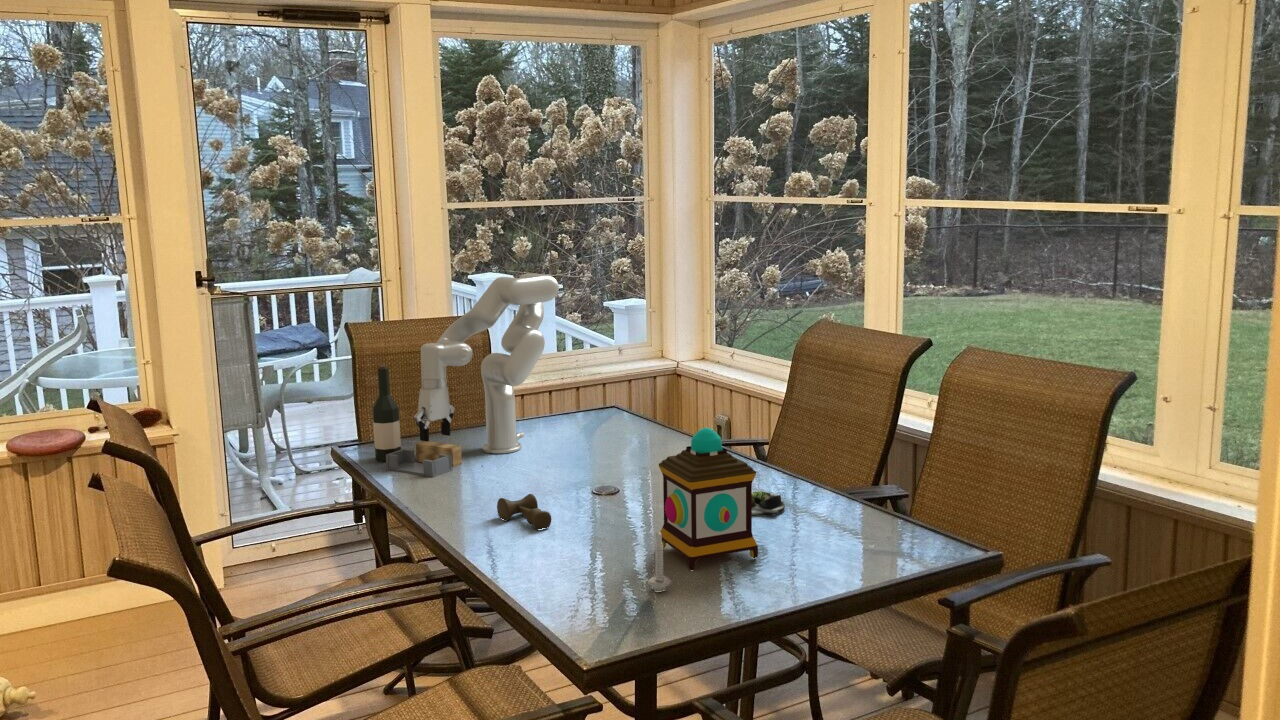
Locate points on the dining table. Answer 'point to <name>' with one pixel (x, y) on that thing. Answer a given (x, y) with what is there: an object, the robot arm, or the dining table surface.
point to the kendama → (524, 511)
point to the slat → (438, 451)
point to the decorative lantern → (707, 500)
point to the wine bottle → (385, 419)
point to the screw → (659, 567)
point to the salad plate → (766, 503)
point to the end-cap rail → (406, 463)
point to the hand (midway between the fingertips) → (435, 437)
